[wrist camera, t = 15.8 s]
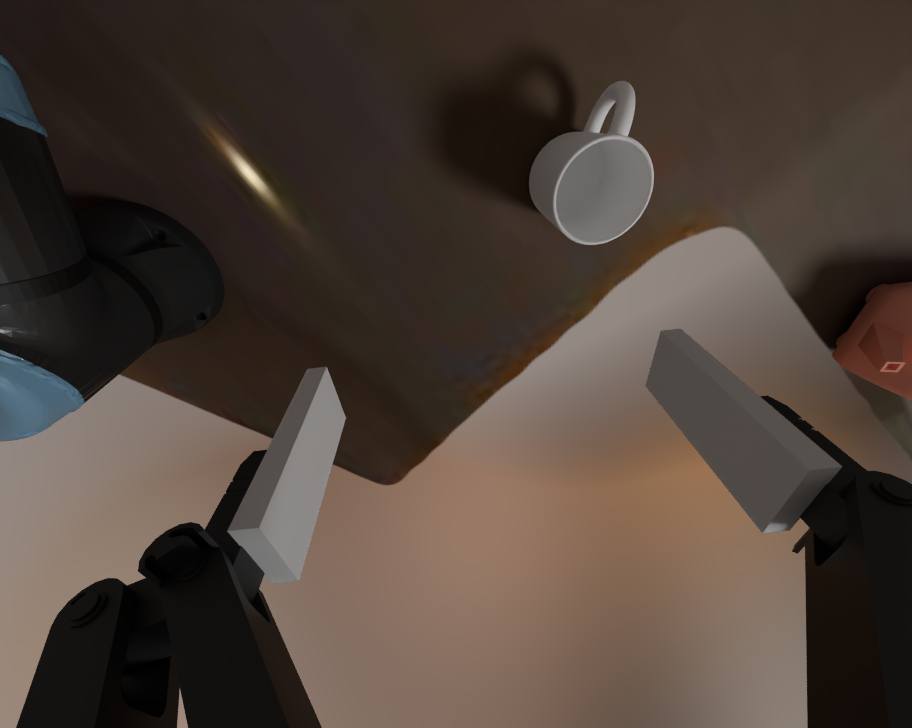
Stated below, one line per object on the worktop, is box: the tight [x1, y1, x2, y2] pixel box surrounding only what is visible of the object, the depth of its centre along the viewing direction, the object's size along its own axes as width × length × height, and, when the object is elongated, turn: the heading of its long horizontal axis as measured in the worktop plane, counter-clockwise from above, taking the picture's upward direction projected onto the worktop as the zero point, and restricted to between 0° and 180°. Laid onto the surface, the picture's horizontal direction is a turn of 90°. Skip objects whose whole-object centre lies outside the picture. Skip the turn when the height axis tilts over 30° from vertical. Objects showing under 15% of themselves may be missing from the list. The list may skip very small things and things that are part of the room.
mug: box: [529, 81, 654, 245], centre depth 32 cm, size 12×8×10 cm
